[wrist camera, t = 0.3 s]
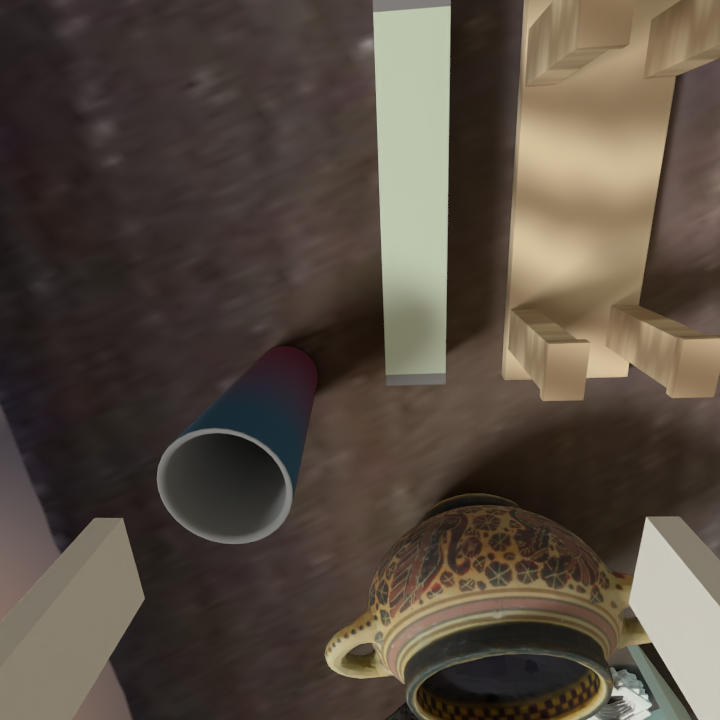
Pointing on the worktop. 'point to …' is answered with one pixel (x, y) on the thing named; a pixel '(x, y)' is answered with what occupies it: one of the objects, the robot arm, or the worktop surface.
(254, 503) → the cup
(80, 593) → the robot arm
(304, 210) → the worktop surface
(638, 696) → the l-shaped corner panel
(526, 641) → the ceramic bowl
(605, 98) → the bar on post stand
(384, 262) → the rail
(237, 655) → the worktop surface
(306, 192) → the worktop surface
